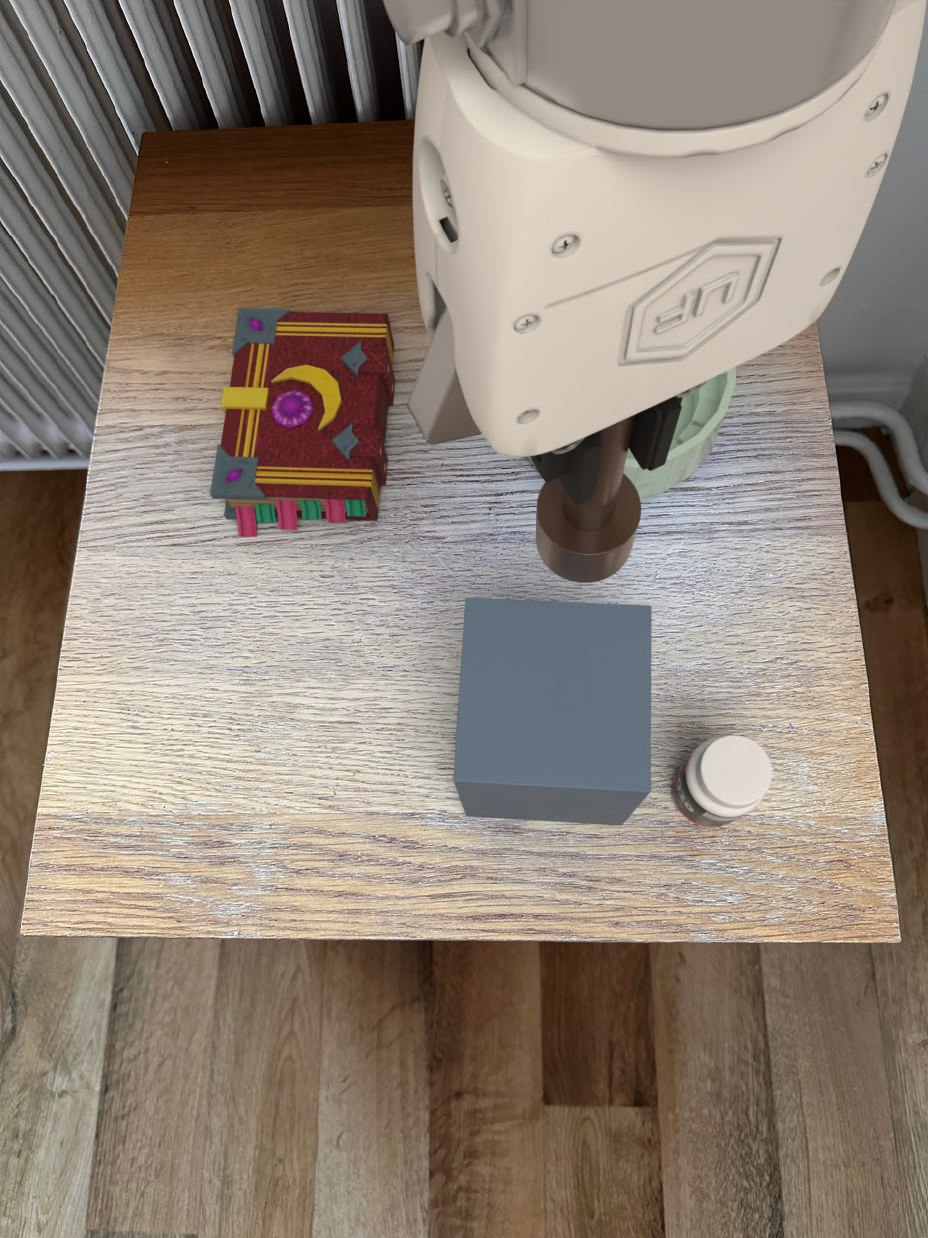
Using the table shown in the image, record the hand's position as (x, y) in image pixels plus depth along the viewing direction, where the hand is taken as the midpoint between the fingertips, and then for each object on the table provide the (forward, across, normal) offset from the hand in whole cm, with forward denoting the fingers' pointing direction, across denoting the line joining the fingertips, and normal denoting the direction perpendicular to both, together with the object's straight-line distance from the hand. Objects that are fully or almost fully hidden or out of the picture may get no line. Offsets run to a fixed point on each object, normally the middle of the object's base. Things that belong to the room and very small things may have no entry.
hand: (598, 449), depth 33 cm
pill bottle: (+34, +6, -10) cm, 36 cm away
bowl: (+34, +14, +17) cm, 40 cm away
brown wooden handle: (+8, 0, 0) cm, 8 cm away
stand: (+34, -2, -3) cm, 34 cm away
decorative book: (+34, -7, +26) cm, 43 cm away
